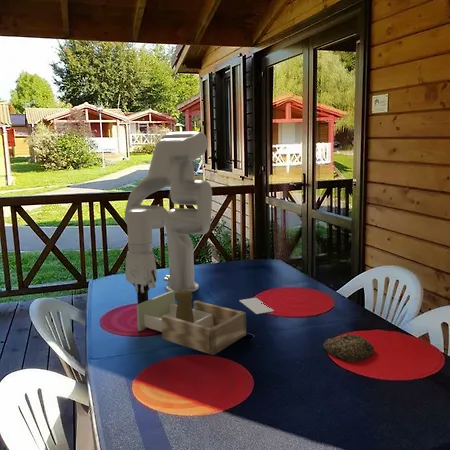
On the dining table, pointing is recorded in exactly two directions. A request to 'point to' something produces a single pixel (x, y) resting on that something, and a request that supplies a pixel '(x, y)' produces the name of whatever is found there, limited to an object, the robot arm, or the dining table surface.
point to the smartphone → (256, 306)
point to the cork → (184, 305)
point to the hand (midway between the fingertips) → (143, 303)
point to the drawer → (166, 312)
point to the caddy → (206, 329)
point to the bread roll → (349, 347)
